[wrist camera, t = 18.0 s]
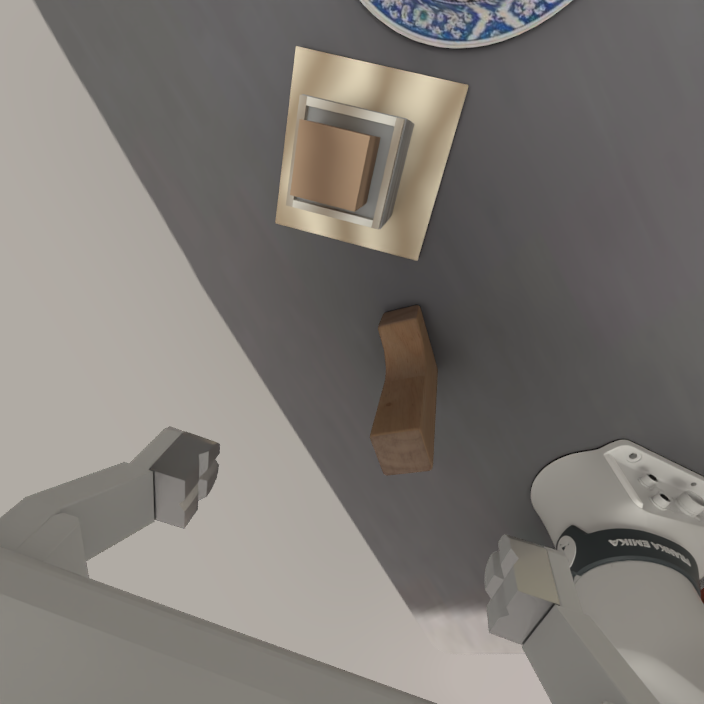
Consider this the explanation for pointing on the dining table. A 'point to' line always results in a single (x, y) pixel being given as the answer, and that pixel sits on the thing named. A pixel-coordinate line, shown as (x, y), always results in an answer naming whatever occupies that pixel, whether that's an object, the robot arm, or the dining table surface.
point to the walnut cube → (333, 165)
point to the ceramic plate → (462, 19)
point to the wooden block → (406, 395)
